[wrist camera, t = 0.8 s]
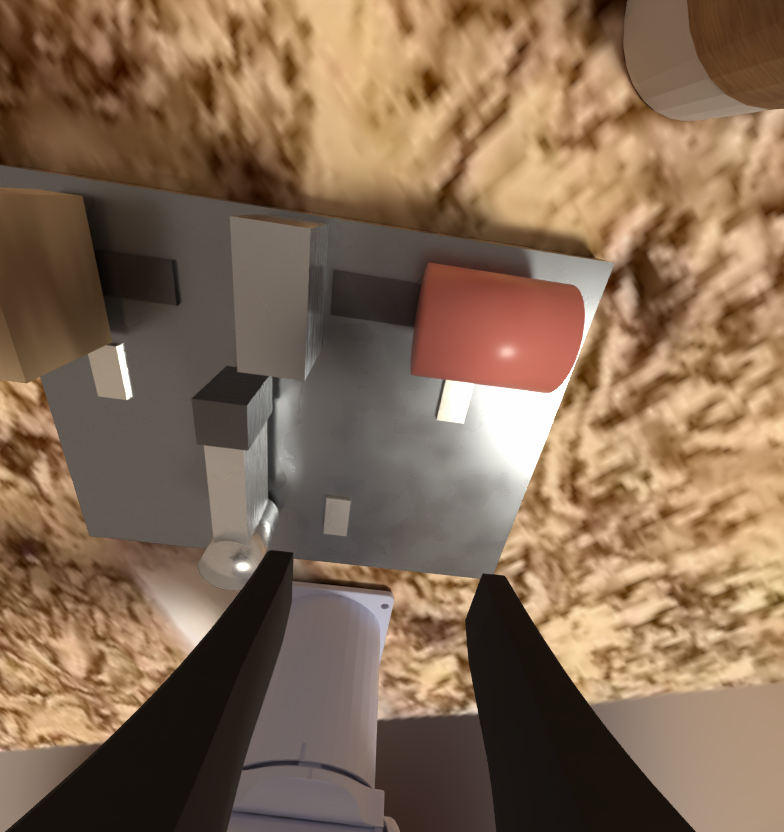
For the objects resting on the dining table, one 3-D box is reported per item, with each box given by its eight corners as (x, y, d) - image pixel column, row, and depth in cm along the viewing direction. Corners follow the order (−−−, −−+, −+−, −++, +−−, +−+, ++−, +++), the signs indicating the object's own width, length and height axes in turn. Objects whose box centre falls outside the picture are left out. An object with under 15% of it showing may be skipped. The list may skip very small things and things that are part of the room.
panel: (485, 558, 23) (504, 634, 19) (104, 515, 22) (36, 587, 18) (595, 258, 15) (668, 277, 11) (7, 164, 14) (-156, 146, 10)
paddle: (112, 342, 15) (26, 383, 12) (75, 336, 15) (-23, 376, 12) (82, 196, 13) (-37, 192, 9) (38, 189, 13) (-100, 182, 9)
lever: (279, 533, 20) (257, 593, 17) (231, 527, 20) (200, 587, 17) (280, 372, 16) (251, 412, 13) (220, 363, 16) (175, 402, 12)
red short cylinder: (523, 370, 16) (555, 412, 12) (409, 354, 15) (412, 392, 12) (553, 276, 14) (600, 297, 11) (425, 256, 14) (434, 271, 10)
